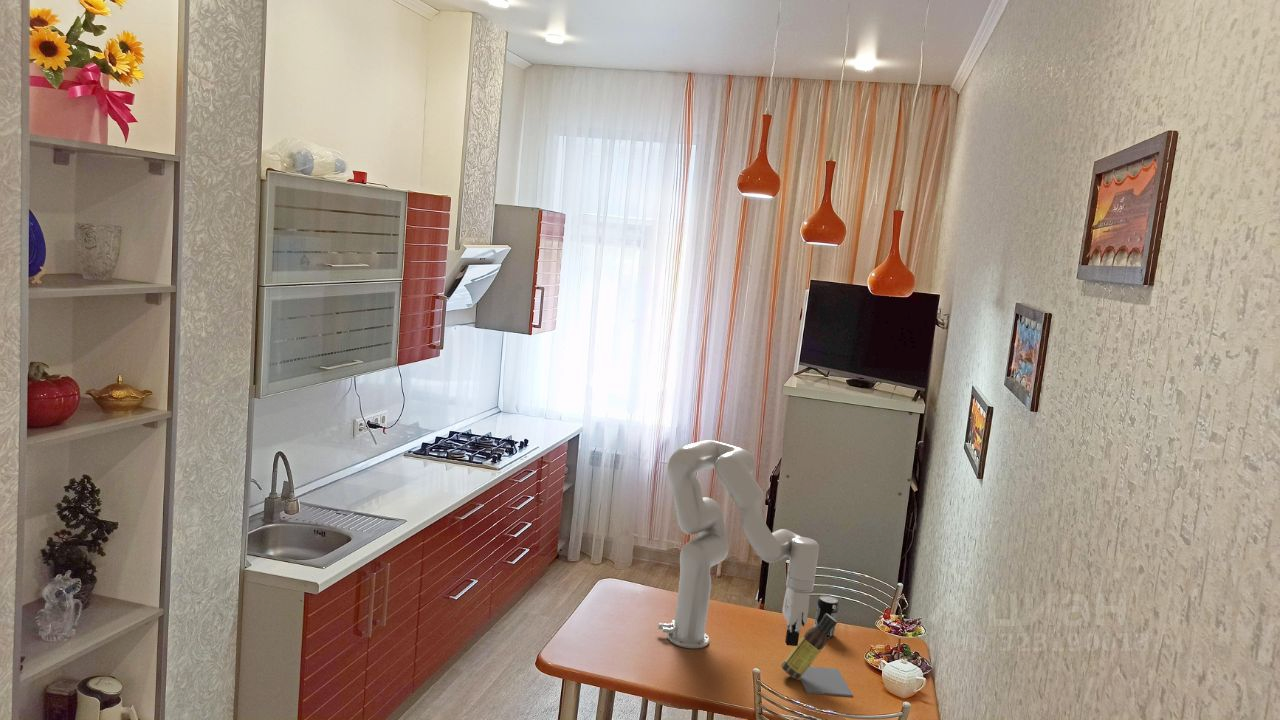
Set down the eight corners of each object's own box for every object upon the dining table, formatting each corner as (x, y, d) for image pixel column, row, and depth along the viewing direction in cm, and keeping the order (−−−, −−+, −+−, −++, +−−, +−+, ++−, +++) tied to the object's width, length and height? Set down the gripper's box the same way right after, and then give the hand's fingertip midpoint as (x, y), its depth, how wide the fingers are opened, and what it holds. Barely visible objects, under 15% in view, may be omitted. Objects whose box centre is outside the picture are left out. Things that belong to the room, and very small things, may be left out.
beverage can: (810, 629, 296) (815, 593, 294) (830, 630, 297) (835, 595, 295) (815, 638, 290) (821, 602, 288) (836, 639, 290) (841, 603, 288)
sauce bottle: (801, 684, 259) (845, 629, 258) (786, 675, 256) (831, 619, 256) (790, 670, 265) (833, 616, 264) (776, 661, 262) (819, 607, 261)
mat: (806, 692, 253) (806, 691, 253) (794, 666, 268) (794, 665, 268) (852, 696, 254) (852, 694, 254) (837, 670, 269) (838, 668, 269)
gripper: (781, 571, 263) (772, 631, 266) (792, 591, 249) (783, 655, 251) (807, 573, 264) (798, 633, 267) (820, 594, 249) (810, 657, 252)
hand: (791, 644), depth 259 cm, fingers closed
